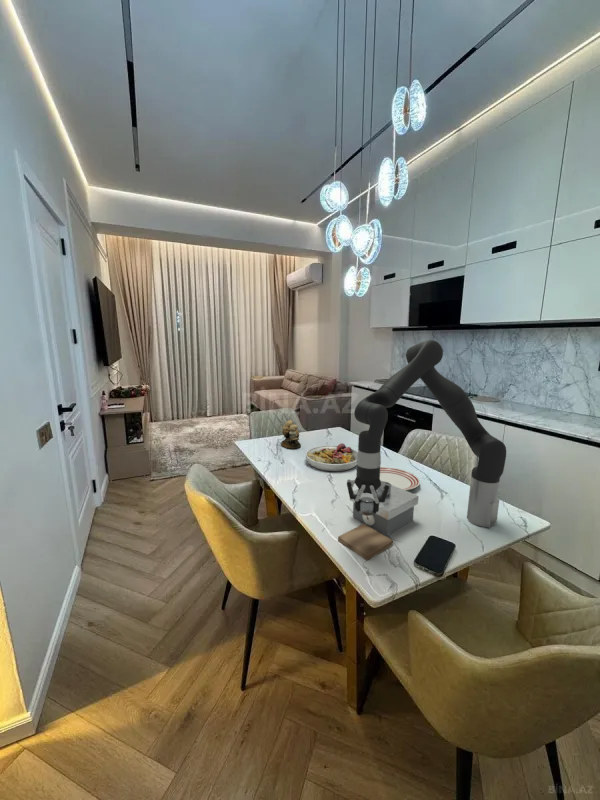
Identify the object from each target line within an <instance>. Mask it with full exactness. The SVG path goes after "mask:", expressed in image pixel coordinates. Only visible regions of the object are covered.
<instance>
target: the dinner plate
mask: <svg viewBox="0 0 600 800" xmlns="http://www.w3.org/2000/svg"><path fill="white" fill-rule="evenodd" d="M380 480H381V481H384V482H388V483H390V484H391V485H393V486H396V487H398V488H400V489H403V490H405V491H410V490H413V489H415V488H417V487H419V485H420V479H419V477H417V476H416V475H415V474H414V473H411V472H410V471H407V470H404V469H400V468H395V467H389V466H380Z"/></svg>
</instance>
